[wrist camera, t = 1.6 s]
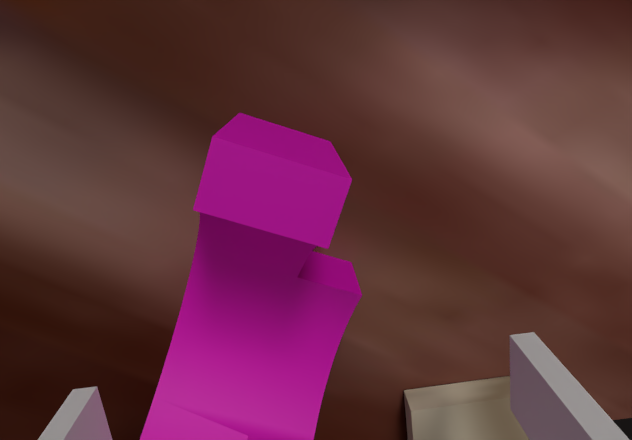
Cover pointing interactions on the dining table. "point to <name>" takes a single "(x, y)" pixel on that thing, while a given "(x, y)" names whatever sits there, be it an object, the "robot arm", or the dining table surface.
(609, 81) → the dining table surface
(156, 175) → the dining table surface
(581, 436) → the robot arm
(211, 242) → the toy block
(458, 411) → the board
